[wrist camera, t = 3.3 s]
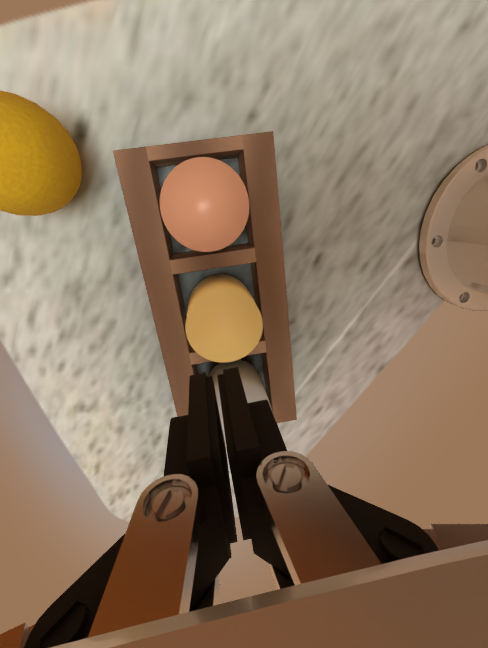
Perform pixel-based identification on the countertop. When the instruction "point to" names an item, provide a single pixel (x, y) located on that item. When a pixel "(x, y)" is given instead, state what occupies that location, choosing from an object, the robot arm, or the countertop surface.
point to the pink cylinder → (204, 204)
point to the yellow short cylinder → (222, 319)
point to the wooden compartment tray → (213, 258)
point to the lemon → (35, 159)
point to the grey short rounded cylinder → (249, 380)
